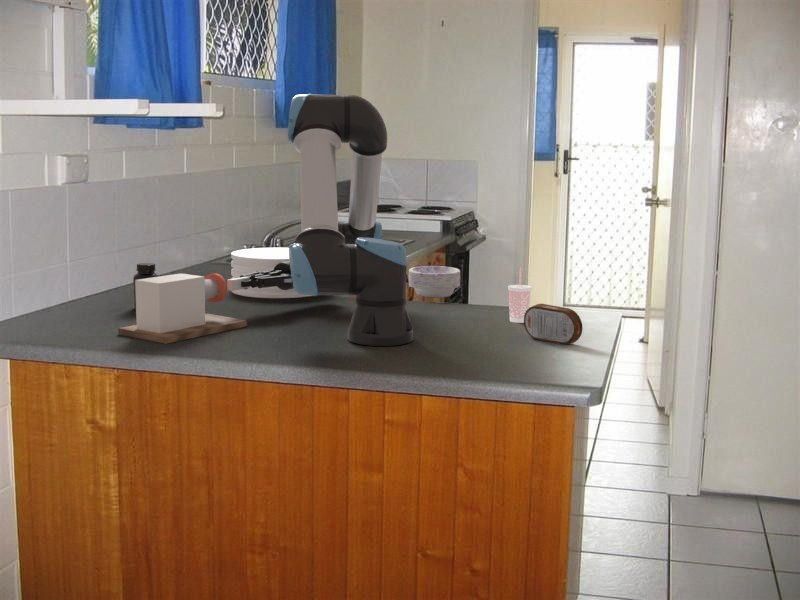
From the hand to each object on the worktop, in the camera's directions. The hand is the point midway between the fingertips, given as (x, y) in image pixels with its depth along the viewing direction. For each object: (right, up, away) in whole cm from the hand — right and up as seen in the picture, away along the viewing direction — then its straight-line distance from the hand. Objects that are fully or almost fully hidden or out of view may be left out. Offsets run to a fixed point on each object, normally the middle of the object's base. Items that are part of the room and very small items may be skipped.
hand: (229, 285), depth 247 cm
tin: (+78, -14, -17) cm, 81 cm away
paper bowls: (+53, -3, +45) cm, 69 cm away
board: (-9, -11, -11) cm, 18 cm away
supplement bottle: (-25, -6, +17) cm, 30 cm away
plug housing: (-11, -10, -14) cm, 21 cm away
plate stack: (+6, -1, +50) cm, 50 cm away
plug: (-7, -5, -9) cm, 12 cm away
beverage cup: (+73, -9, +8) cm, 74 cm away
